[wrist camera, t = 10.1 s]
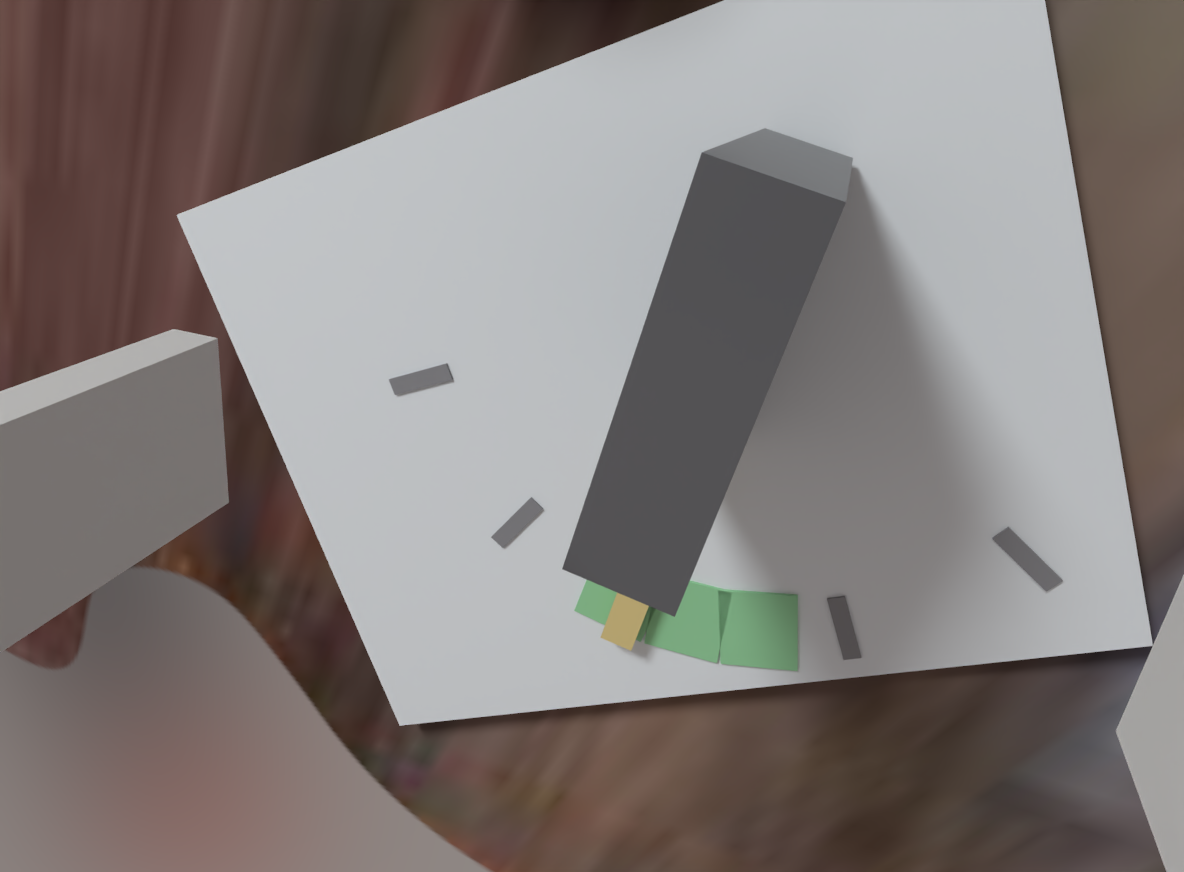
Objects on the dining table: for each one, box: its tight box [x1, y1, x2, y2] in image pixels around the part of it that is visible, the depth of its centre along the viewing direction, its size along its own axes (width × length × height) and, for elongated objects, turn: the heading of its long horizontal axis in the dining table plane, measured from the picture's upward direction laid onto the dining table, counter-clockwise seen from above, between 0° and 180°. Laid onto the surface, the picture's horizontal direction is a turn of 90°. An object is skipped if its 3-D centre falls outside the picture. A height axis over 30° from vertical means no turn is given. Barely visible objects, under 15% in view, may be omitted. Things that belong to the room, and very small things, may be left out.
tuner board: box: [177, 0, 1153, 726], centre depth 30 cm, size 28×22×1 cm
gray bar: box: [562, 128, 853, 651], centre depth 24 cm, size 18×3×11 cm, turn 163°
